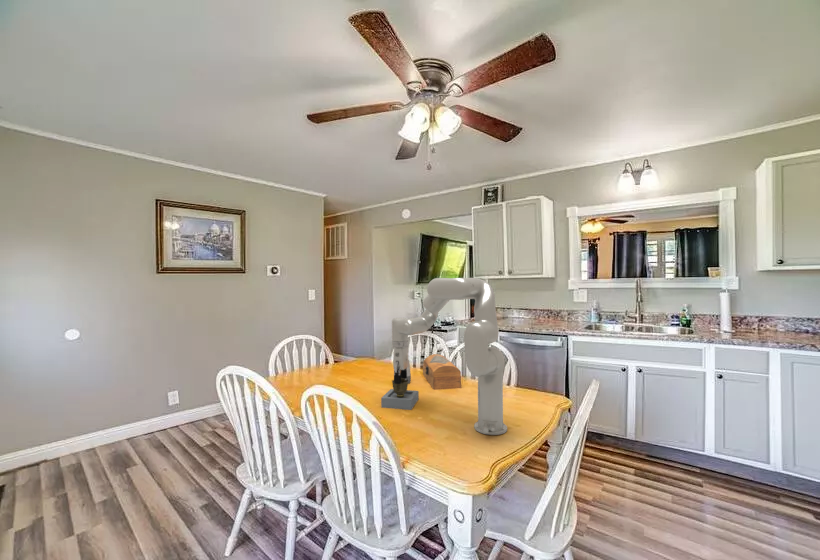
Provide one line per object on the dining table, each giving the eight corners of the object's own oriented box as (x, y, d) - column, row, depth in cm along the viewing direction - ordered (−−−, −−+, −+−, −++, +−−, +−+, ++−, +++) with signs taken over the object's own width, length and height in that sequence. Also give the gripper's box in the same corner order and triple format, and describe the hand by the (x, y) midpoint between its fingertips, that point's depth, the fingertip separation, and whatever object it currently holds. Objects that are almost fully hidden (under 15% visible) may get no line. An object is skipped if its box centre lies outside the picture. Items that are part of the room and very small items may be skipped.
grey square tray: (411, 411, 165) (411, 400, 165) (381, 409, 168) (381, 397, 168) (418, 401, 178) (418, 390, 178) (390, 399, 182) (390, 389, 182)
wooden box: (421, 377, 221) (421, 354, 221) (448, 376, 223) (447, 353, 223) (430, 392, 191) (430, 365, 192) (461, 391, 194) (461, 364, 194)
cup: (389, 396, 173) (388, 379, 173) (401, 393, 178) (401, 376, 178) (399, 400, 168) (398, 383, 168) (411, 397, 172) (411, 379, 172)
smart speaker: (404, 381, 212) (404, 357, 212) (414, 385, 204) (413, 360, 204) (390, 384, 206) (390, 359, 206) (399, 388, 199) (399, 362, 199)
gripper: (402, 347, 164) (403, 386, 164) (412, 341, 180) (413, 376, 180) (386, 347, 166) (387, 385, 165) (397, 341, 182) (398, 376, 182)
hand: (400, 380), depth 173 cm, fingers open, 9 cm apart
